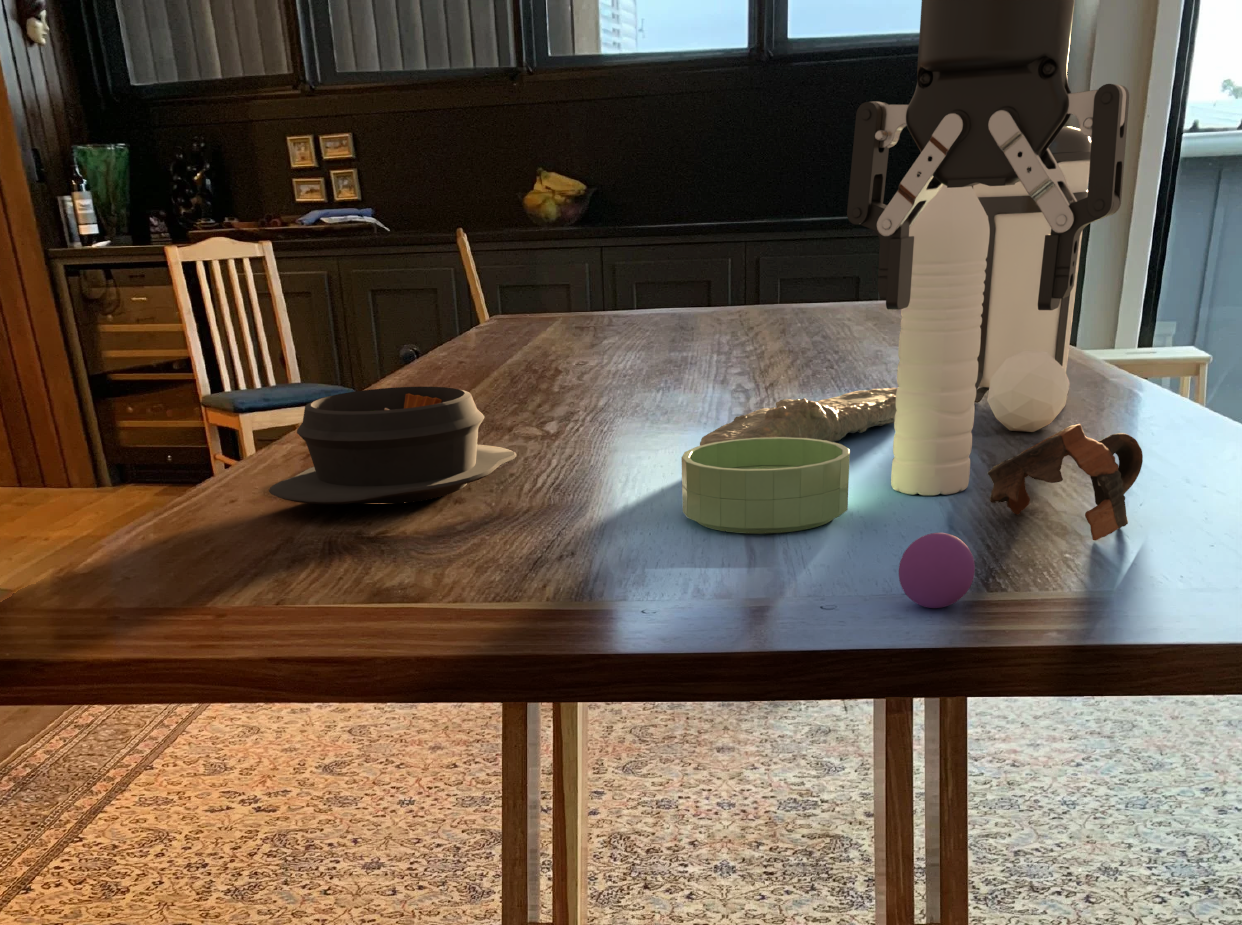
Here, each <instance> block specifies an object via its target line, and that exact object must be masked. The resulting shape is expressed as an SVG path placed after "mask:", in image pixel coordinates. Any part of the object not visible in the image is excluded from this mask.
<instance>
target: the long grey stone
mask: <svg viewBox="0 0 1242 925" xmlns="http://www.w3.org/2000/svg"><path fill="white" fill-rule="evenodd" d="M897 389H898V387H889V388H871V389H868V390H856V391H855V390H854V391H850V392H847V393H843V394H841V395H839V396H834V397H829V398H823V399H820V400H816V401H814V400H807V399H806V398H805V397H803V398H801V399H799V398H796V399H790V398H785V399H780V400H778V401H775V406H776V407H770V408H765V407H764V408H763V407H762V408H760V409H757V410H754V411H752V412H749V413H746V414H742V415H739V416H735V417H734V418H733V420H732V421H731V422H728V423H726V424H724V425H721V426H720V427H718V428H716V429H714V430H713V431H710V432H709V433H707V434H705V435H704V436H702V437H701V440H700V441H699V446H702V445H706V444H710V443H714V442H721V441H728V440H735V439H748V438H767V437H791V438H810V439H818V440H826V441H830V442H834V443H835V442H839V441H841V439H843V438H845V437H846V436H847V434H848V433H850V434H854V433H859V434H862V433H864V432H866V431H867V430H868V429H869V428H871V427H872V428H873V427H876V426H877V427H881V426H884V425H889V424H894V421H895V414H896V411H897V410H896V391H897Z"/></svg>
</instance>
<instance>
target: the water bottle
mask: <svg viewBox="0 0 1242 925" xmlns="http://www.w3.org/2000/svg"><path fill="white" fill-rule="evenodd" d="M989 235H990V227H989V221H988V217H987V214H986V212H985V210H984V208H983V207H982V205H981V203H980V201H979V199H978V197H977V195H976V194H975V192H974V190H973V186H969V187H956V188H947V186H946V185H943V186H942V188H941V189H940V190H939V192H938V193H937V195H936V196H935V197H934V198H933V199H932V200H931V201H929V203H928V204H927V205H926V206H925V208H924V209H923V211H922V212H921V213H920V215H919V216H918V218H917V219H916V220H915V222H914V223H913V225H912V226H911V227H910V229H909V236H914V248H913V263H912V278H911V294H910V302H909V305H908V307H906V308H903V309H900V316H901V319H900V321H899V322H900V323H899V325H900V328H901V329H900V330H899V337H898V338H899V339H898V347H897V348H898V350H897V351H898V355H897V356H898V359H899V361H898V364H897V370H896V371H897V372H896V383H897V388H898V389H897V391H896V410H897V411H896V414H895V421H894V423H893V424H894V425H893V428H894V431H895V433H894V435H893V442H892V454H893V456H894V457H893V458H892V461H891V474H890V486H891V488H892V489H893V490H894V491H896V492H900V493H902V494H906V495H913V496H914V495H917V494H919V495H920V496H938V495H945V496H946V495H952V494H953V495H954V494H957V493H959V492H963V491H965V490H966V489H967V488H968V487H969V483H970V474H971V472H970V471H971V459H970V455H971V454H972V446H973V433H972V430H973V428H974V422H975V408H976V407H975V402H974V401H975V398H976V387H975V383H976V382H977V376H978V361H977V357H978V356H979V352H980V342H981V328H980V325H981V323H982V317H981V314H982V312H983V306H982V303H983V301H984V295H983V292H984V289H985V284H984V281H985V277H986V273H985V269H986V266H987V262H986V258H987V254H988V245H989Z"/></svg>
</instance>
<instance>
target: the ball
mask: <svg viewBox="0 0 1242 925" xmlns="http://www.w3.org/2000/svg"><path fill="white" fill-rule="evenodd" d="M975 571H976V565H975V559H974V555H973V553H972V552H971V550H970V547H969V546H968V545H967V544H966V542H964V541H963V540H961V539H960V538H959V537H957V536H955V535H953V534H950V533H945V532H932V533H927V534H925V535H922V536H920V537H918V538H916V539H915V540H914V541H912V542H911V544H910V545H909V546H908V547H907V548H906V549H905V550H904V552H903V554H902V555H901V559H900V562H899V564H898V578H899V579H898V581H899V584H900V586H901V588H902V591H903V592H904V594H905V595H906V596H907V597H908V598H909V599H910V601H912V602H913V603H915V604H917V605H918V606H921V607H924V608H928V609H942V608H947V607H948V606H951V605H953V604H956V603H957V602H958V601H959V600H961V599H962V598H963V597H964V596H965V595H966V594H967V593H968V591H969V589H970V588H971V587H972V584H973V582H974V578H975V573H976V572H975Z"/></svg>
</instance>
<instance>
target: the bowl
mask: <svg viewBox="0 0 1242 925" xmlns="http://www.w3.org/2000/svg"><path fill="white" fill-rule="evenodd" d="M850 454H851V450H850V447H849V448H848V447H847V446H845V444H844V445H843V444H842V443H838V442H835V441H834V442H830V441H826V440H818V439H810V438H791V437H767V438H748V439H735V440H728V441H721V442H714V443H710V444H706V445H702V446H700V445H697V446H695V447H692V448H691V449H688V450H686V451H684V453H683V454H682V456H681V492H682V493H681V495H682V497H681V498H682V514H684V515H685V517H686V518H687V519H689V520H692V521H693V522H696V523H697V524H699V525H700V526H702V527H705V528H707V529H711V530H714V531H719V532H725V531H726V533H736V534H753V535H755V534H756V535H758V534H759V535H761V534H763V535H764V534H765V535H766V534H782V533H792V532H800V531H804V530H805V531H806V530H810V529H814V528H818V527H821V526H824V525H826V524H828V523H830V522H832V521H833V520H834V519H836V518H838V517H841V516H842V515H844V513H846V512H847V511H848V509H849V508H848V507H849V480H850Z"/></svg>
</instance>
